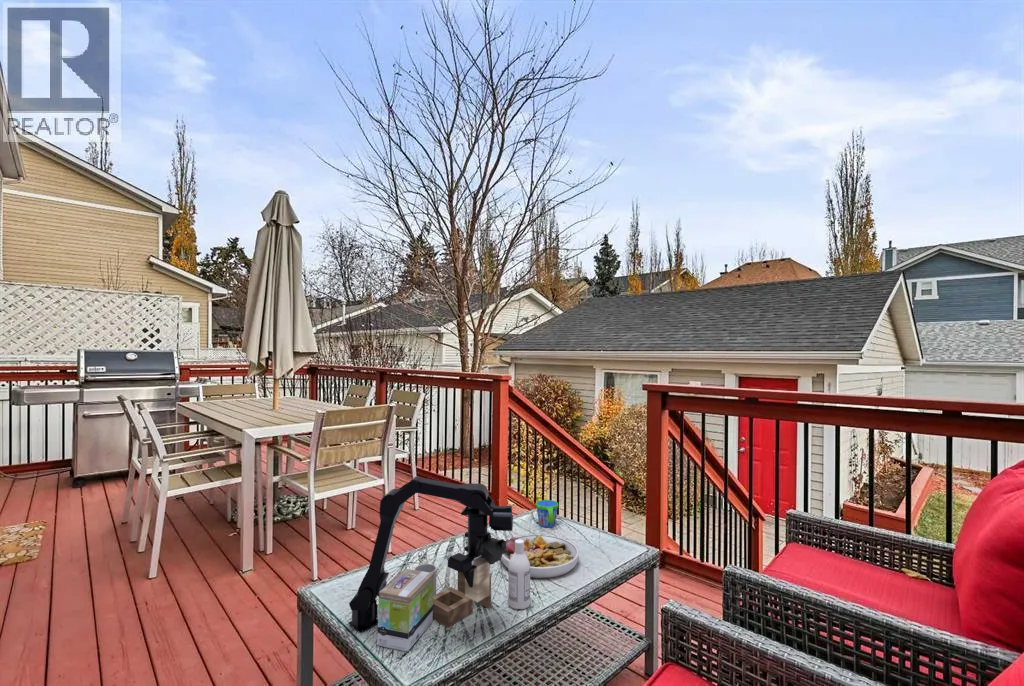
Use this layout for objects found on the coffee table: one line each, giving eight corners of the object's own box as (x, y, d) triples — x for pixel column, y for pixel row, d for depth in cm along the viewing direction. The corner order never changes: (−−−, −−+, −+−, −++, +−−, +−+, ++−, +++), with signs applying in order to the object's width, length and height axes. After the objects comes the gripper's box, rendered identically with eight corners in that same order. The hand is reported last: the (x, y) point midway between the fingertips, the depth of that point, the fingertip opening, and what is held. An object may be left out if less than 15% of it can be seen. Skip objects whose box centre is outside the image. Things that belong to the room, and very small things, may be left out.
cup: (420, 604, 146) (420, 576, 146) (406, 591, 154) (406, 564, 154) (440, 597, 150) (440, 569, 150) (426, 585, 158) (426, 558, 158)
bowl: (576, 548, 189) (576, 528, 190) (580, 584, 160) (580, 561, 160) (504, 544, 192) (504, 526, 193) (495, 580, 163) (495, 557, 163)
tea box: (409, 653, 122) (410, 597, 123) (376, 646, 125) (376, 591, 125) (433, 621, 137) (434, 571, 137) (403, 616, 140) (404, 567, 140)
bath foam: (528, 598, 150) (528, 536, 150) (531, 609, 143) (531, 545, 144) (507, 599, 149) (507, 537, 150) (509, 610, 142) (509, 545, 143)
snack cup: (534, 519, 222) (534, 498, 222) (555, 518, 222) (555, 497, 222) (537, 531, 206) (537, 508, 206) (560, 531, 207) (560, 508, 207)
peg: (477, 602, 130) (477, 566, 130) (465, 596, 133) (465, 561, 133) (489, 595, 134) (489, 560, 134) (477, 589, 137) (477, 555, 137)
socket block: (453, 630, 132) (454, 592, 132) (420, 611, 142) (420, 576, 142) (492, 607, 145) (492, 572, 145) (459, 591, 154) (459, 558, 154)
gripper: (475, 547, 122) (474, 606, 121) (519, 526, 136) (518, 580, 136) (446, 536, 129) (446, 592, 128) (491, 518, 143) (490, 568, 143)
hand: (477, 583), depth 133 cm, fingers closed on peg, 5 cm apart
